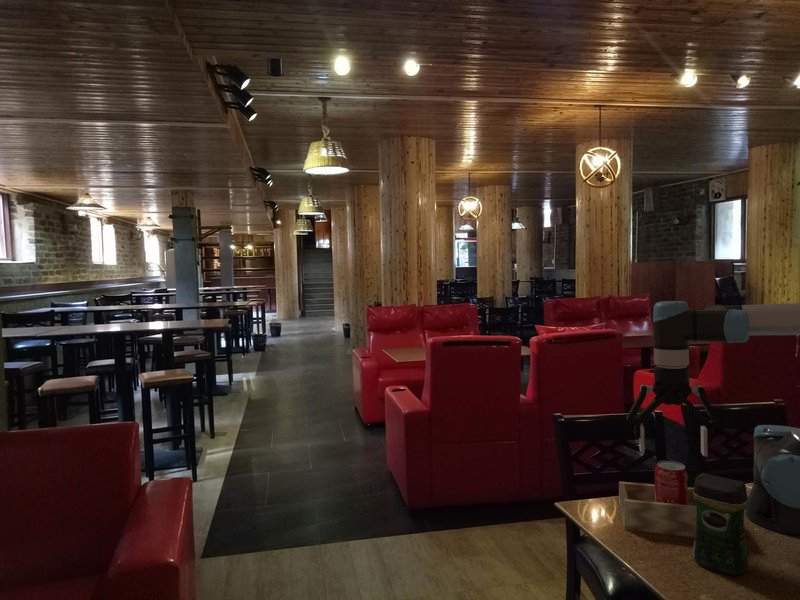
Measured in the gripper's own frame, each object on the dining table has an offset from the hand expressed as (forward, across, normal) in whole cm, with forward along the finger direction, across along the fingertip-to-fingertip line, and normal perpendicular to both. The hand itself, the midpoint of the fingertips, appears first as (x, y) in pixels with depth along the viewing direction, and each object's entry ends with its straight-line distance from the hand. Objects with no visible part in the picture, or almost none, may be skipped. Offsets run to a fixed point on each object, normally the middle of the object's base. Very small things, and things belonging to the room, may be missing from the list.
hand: (672, 453), depth 128 cm
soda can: (+16, +1, 0) cm, 16 cm away
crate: (+18, +1, 0) cm, 18 cm away
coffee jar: (+18, -6, +17) cm, 25 cm away
